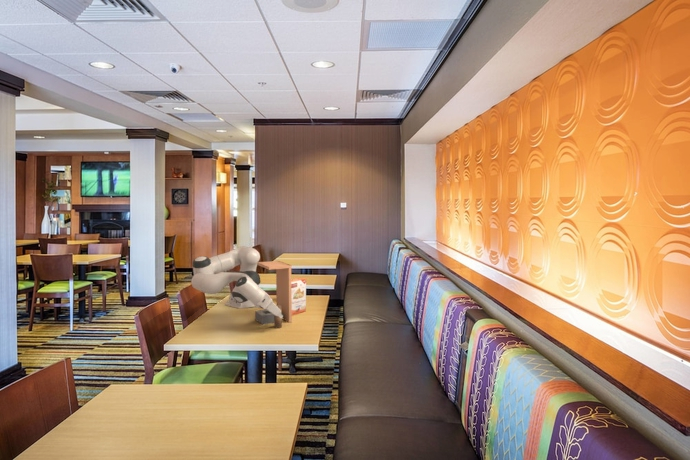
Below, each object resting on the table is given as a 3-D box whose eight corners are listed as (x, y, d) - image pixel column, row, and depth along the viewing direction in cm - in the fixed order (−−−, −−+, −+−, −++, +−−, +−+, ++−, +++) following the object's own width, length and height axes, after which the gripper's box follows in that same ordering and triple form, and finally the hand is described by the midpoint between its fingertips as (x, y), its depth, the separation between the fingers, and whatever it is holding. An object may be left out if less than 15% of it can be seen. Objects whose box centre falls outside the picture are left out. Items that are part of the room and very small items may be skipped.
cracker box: (290, 316, 252) (290, 282, 251) (283, 314, 256) (283, 280, 254) (306, 311, 263) (306, 278, 262) (299, 309, 267) (299, 277, 265)
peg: (272, 327, 229) (272, 306, 229) (277, 325, 233) (277, 304, 232) (278, 328, 227) (278, 307, 227) (283, 326, 231) (282, 305, 230)
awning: (269, 325, 233) (269, 266, 231) (258, 317, 250) (257, 262, 248) (291, 322, 240) (291, 265, 237) (278, 314, 257) (278, 260, 255)
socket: (262, 324, 235) (261, 315, 235) (255, 319, 245) (255, 310, 245) (282, 321, 241) (282, 313, 241) (274, 316, 251) (274, 308, 251)
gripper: (251, 300, 232) (268, 315, 238) (263, 308, 215) (281, 324, 220) (259, 291, 234) (275, 306, 240) (271, 298, 217) (289, 315, 222)
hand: (278, 315), depth 230 cm, fingers open, 8 cm apart
